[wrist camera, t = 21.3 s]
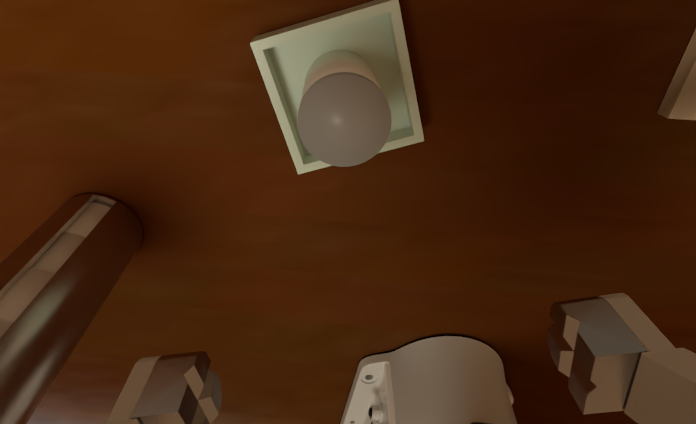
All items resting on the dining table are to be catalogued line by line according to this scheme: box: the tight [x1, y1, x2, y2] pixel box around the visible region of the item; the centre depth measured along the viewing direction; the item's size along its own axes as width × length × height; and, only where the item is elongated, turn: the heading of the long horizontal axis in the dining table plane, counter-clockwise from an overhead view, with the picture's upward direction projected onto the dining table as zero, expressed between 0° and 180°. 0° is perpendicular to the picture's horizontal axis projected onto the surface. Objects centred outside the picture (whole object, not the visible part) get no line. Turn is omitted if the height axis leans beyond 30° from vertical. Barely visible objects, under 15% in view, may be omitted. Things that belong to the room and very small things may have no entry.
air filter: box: [0, 193, 143, 424], centre depth 24 cm, size 6×6×25 cm
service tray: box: [250, 0, 424, 174], centre depth 28 cm, size 9×9×2 cm
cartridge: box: [297, 50, 391, 167], centre depth 26 cm, size 5×5×7 cm
